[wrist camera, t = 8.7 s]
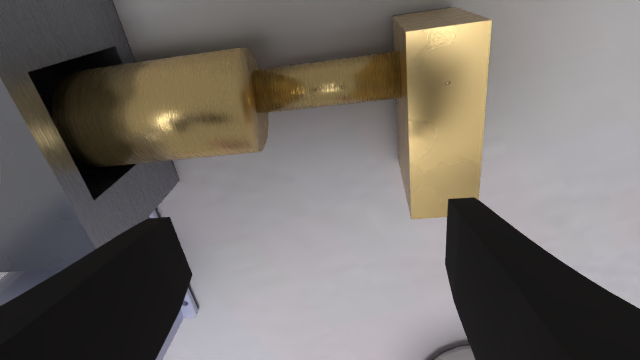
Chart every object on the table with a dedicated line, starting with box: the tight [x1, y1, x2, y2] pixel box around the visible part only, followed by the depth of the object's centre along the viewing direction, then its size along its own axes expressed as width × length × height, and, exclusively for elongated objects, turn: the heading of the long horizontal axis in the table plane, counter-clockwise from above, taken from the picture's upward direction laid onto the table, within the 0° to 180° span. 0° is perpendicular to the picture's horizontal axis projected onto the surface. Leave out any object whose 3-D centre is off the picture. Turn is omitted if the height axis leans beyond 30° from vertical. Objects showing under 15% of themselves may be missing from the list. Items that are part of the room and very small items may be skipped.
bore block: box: [0, 0, 179, 272], centre depth 16 cm, size 10×8×7 cm
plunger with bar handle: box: [52, 7, 492, 219], centre depth 16 cm, size 7×15×5 cm, turn 99°
